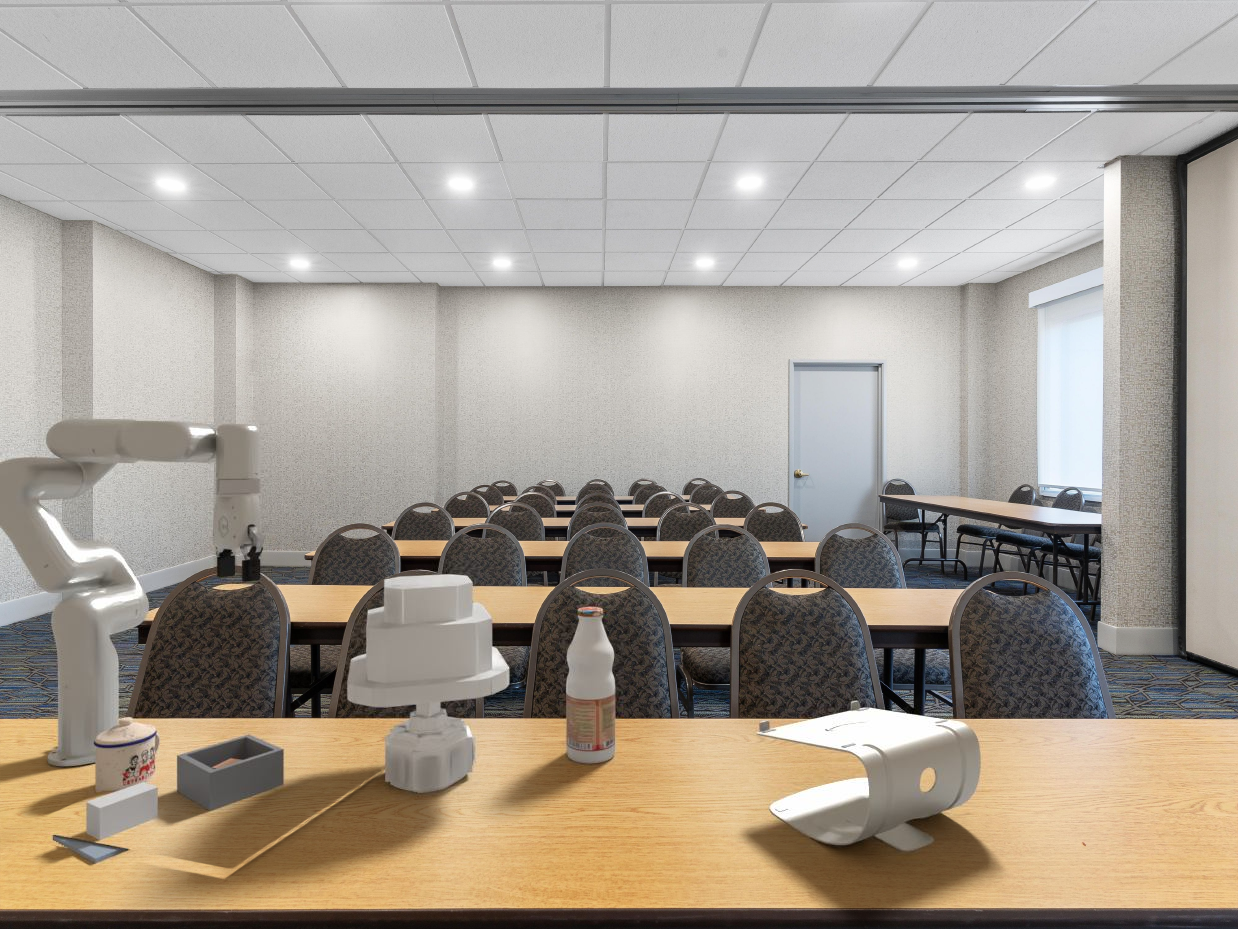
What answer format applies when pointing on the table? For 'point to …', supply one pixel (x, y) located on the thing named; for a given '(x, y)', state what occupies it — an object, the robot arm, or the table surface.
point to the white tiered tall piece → (427, 675)
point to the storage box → (229, 771)
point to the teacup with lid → (125, 755)
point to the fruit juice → (590, 691)
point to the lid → (113, 819)
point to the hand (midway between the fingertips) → (238, 578)
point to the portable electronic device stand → (881, 775)
